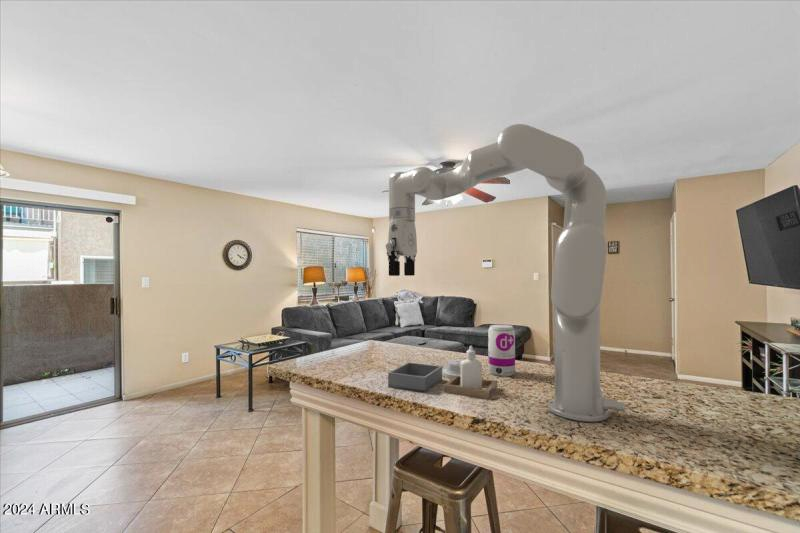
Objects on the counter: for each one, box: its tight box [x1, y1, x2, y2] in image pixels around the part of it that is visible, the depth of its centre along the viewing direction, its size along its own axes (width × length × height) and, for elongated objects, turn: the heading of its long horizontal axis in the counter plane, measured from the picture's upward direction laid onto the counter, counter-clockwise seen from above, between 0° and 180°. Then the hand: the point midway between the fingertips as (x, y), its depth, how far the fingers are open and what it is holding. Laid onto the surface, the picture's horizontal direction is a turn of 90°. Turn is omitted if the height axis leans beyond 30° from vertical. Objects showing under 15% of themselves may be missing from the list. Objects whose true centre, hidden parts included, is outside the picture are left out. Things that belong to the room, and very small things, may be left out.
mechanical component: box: [442, 358, 464, 380], centre depth 114 cm, size 10×4×10 cm
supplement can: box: [487, 324, 516, 377], centre depth 116 cm, size 8×8×15 cm
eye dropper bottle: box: [460, 345, 483, 389], centre depth 99 cm, size 4×6×12 cm
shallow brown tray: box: [443, 376, 498, 400], centre depth 99 cm, size 12×10×2 cm
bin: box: [387, 362, 443, 393], centre depth 105 cm, size 11×13×4 cm
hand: (402, 275), depth 104 cm, fingers open, 9 cm apart
